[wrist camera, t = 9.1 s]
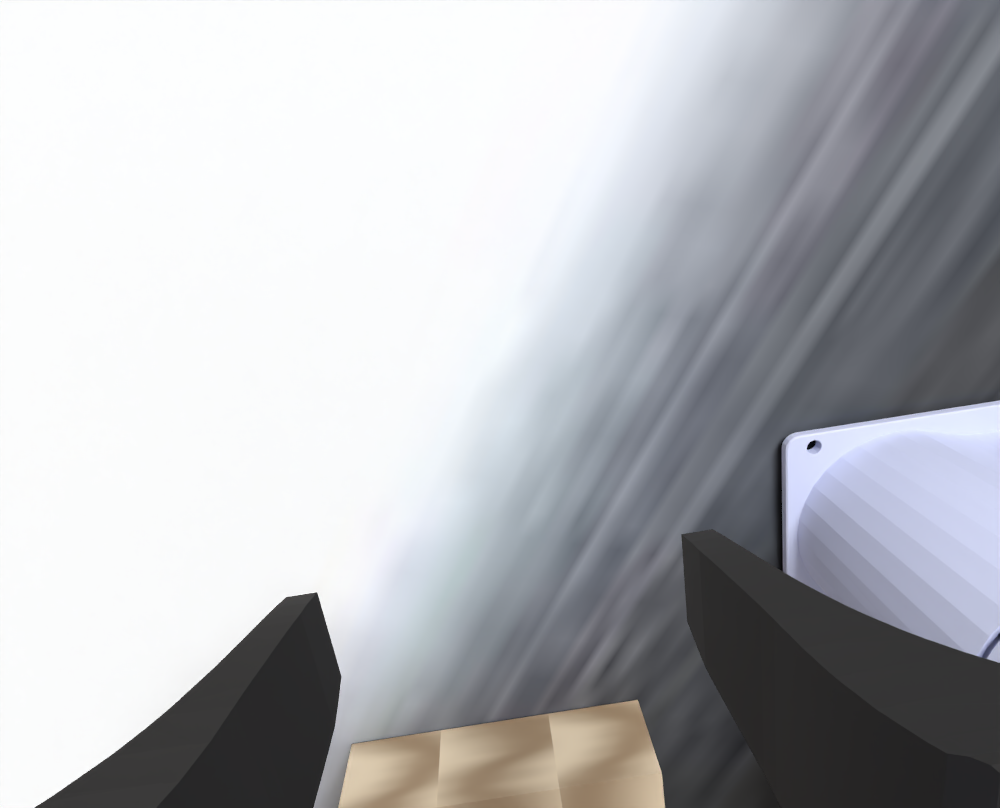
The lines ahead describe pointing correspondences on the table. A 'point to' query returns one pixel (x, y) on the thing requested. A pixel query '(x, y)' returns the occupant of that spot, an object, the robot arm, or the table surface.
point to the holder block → (513, 764)
